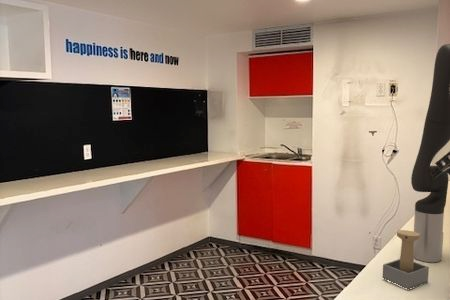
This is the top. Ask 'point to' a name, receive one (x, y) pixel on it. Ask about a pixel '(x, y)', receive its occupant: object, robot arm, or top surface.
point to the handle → (407, 249)
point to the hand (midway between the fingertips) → (440, 174)
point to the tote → (405, 274)
